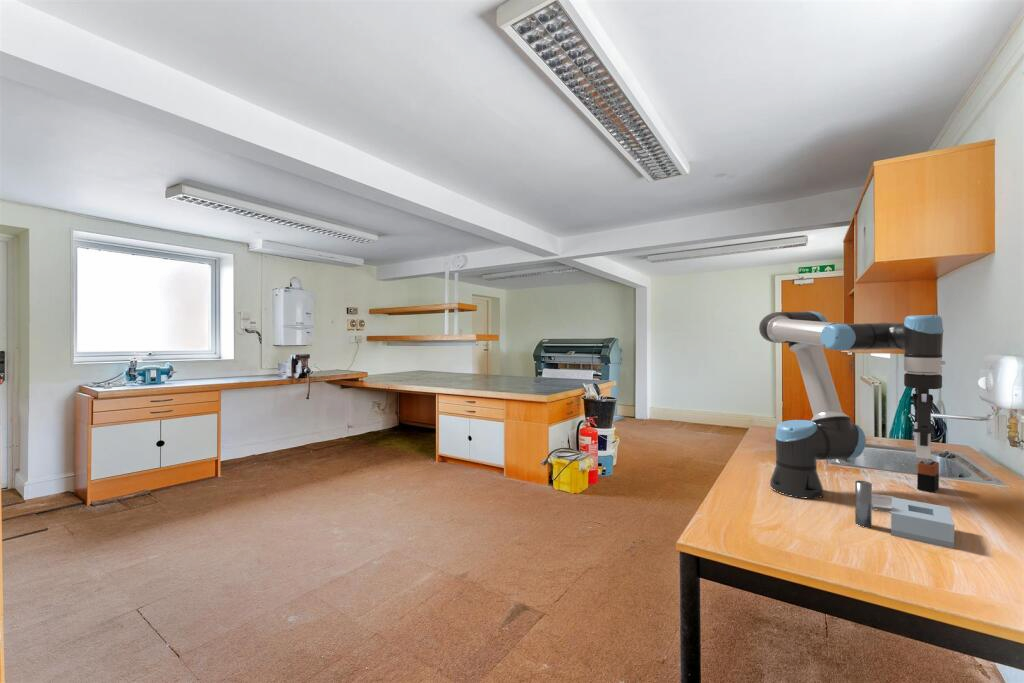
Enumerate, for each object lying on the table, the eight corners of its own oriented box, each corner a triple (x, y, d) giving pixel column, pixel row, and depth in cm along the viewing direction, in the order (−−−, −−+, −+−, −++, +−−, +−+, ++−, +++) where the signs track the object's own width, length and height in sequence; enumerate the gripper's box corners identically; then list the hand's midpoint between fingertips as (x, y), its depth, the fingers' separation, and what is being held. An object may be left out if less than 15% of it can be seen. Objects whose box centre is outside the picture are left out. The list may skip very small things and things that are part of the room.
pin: (854, 525, 126) (854, 483, 126) (855, 521, 129) (855, 479, 129) (871, 529, 124) (871, 485, 124) (871, 524, 127) (872, 482, 126)
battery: (916, 489, 152) (917, 460, 152) (922, 485, 156) (922, 456, 156) (934, 493, 149) (934, 463, 148) (939, 488, 153) (939, 459, 152)
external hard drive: (873, 511, 137) (862, 497, 148) (907, 515, 133) (894, 500, 144) (873, 506, 137) (862, 492, 148) (908, 510, 133) (894, 495, 144)
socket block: (891, 535, 120) (891, 512, 120) (891, 517, 131) (891, 497, 131) (954, 548, 112) (954, 524, 112) (949, 529, 123) (949, 507, 123)
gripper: (946, 378, 108) (945, 466, 109) (938, 369, 128) (937, 444, 128) (905, 376, 113) (904, 460, 114) (903, 368, 132) (902, 440, 133)
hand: (922, 452), depth 121 cm, fingers open, 13 cm apart
